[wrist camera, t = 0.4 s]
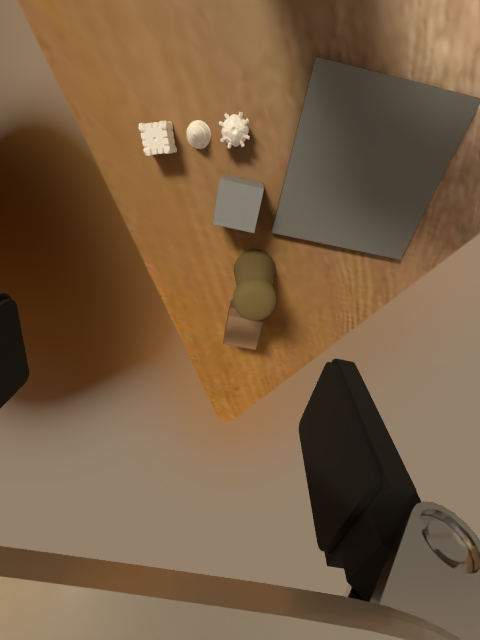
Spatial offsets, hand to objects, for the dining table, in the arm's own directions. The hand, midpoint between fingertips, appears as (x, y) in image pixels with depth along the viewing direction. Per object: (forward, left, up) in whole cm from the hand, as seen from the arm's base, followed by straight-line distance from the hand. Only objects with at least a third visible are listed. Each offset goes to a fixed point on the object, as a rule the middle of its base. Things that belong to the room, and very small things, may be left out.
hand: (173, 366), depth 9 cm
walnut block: (+18, +5, -34) cm, 38 cm away
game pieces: (-5, -5, -34) cm, 35 cm away
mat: (-5, +15, -34) cm, 37 cm away
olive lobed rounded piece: (+10, +5, -34) cm, 36 cm away
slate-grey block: (+1, +1, -34) cm, 34 cm away
